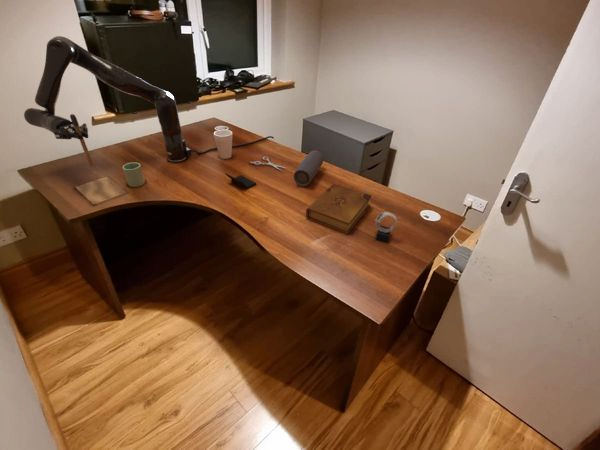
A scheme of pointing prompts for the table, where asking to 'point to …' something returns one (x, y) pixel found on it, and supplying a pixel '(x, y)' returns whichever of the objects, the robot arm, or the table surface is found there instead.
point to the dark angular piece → (242, 181)
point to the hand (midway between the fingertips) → (84, 136)
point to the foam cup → (224, 143)
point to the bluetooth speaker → (308, 168)
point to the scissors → (266, 163)
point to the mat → (100, 190)
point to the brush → (77, 128)
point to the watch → (382, 230)
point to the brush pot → (133, 174)
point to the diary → (338, 208)
